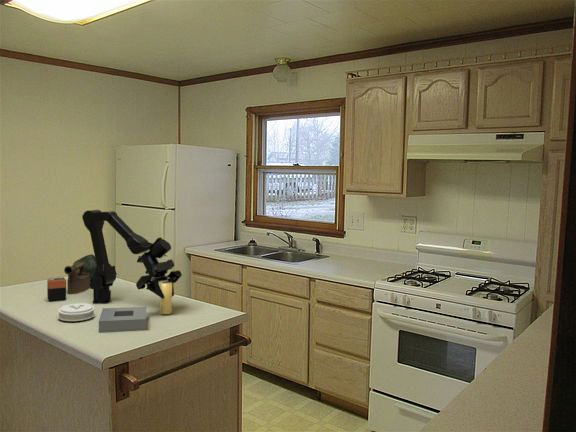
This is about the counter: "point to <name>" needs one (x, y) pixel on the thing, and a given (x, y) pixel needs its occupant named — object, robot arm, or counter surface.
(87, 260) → the squash
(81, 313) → the lid
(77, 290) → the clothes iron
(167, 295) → the plug
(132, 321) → the socket block
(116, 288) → the counter surface
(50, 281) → the battery
